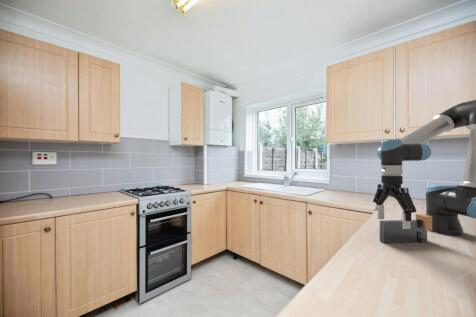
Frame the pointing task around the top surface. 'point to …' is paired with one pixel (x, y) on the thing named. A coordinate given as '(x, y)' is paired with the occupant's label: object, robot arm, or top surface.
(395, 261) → the top surface
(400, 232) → the tongs hinged arm
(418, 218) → the orange slotted clip
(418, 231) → the arm
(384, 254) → the top surface
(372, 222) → the top surface
